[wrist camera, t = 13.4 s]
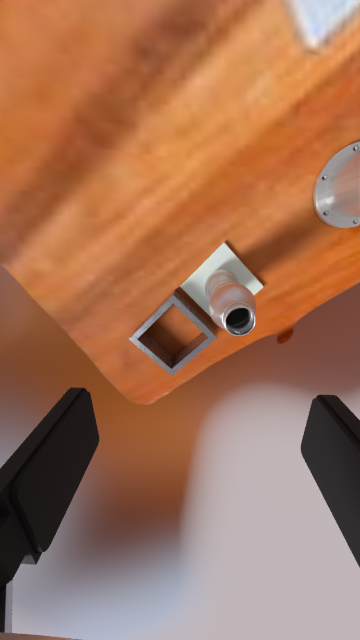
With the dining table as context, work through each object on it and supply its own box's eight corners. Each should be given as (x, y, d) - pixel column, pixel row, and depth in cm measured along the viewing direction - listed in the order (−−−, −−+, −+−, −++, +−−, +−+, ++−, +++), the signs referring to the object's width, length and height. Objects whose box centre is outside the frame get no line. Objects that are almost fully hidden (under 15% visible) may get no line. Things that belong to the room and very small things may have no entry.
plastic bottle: (237, 267, 40) (274, 293, 22) (234, 301, 43) (264, 348, 24) (204, 267, 41) (213, 291, 22) (203, 300, 43) (209, 346, 25)
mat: (223, 242, 40) (224, 242, 39) (262, 286, 42) (263, 286, 42) (180, 285, 43) (180, 286, 43) (218, 323, 46) (219, 325, 45)
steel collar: (175, 289, 44) (173, 294, 39) (214, 328, 46) (217, 337, 42) (135, 329, 48) (128, 339, 43) (173, 363, 50) (171, 375, 46)
